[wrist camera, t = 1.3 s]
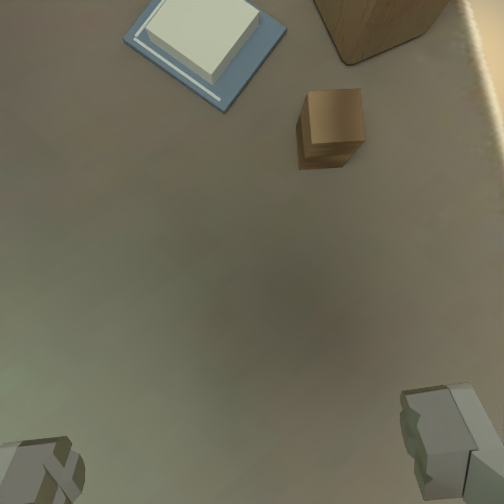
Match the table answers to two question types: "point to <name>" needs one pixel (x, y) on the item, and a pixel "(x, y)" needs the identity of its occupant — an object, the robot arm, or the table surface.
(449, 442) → the robot arm
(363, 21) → the wooden block
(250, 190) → the table surface
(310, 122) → the walnut pillar
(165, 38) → the foundation slab
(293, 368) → the table surface
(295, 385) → the table surface
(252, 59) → the board
